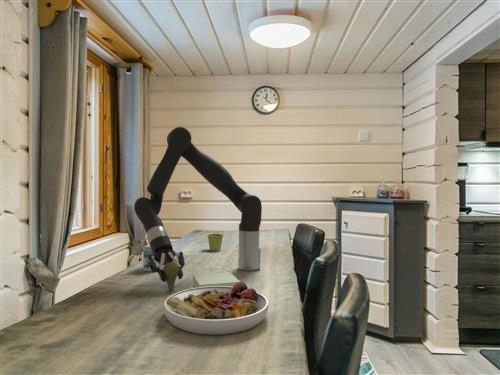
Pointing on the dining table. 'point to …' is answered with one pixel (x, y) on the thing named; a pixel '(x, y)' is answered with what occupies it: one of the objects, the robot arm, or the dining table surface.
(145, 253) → the light bulb box
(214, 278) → the block
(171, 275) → the light bulb
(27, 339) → the dining table surface
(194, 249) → the dining table surface
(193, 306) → the bowl
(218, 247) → the plant pot
